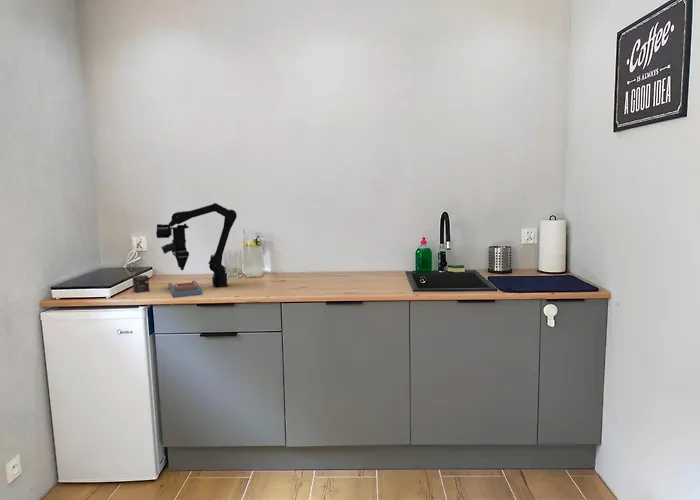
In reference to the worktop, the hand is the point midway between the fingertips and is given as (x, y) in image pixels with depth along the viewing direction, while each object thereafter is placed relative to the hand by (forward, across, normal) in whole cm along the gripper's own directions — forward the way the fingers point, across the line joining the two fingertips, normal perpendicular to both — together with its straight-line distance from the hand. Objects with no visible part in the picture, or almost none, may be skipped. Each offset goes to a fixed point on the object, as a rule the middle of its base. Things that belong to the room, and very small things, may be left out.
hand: (180, 268), depth 256 cm
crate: (+9, +14, 0) cm, 17 cm away
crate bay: (+10, +9, 0) cm, 13 cm away
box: (+10, -2, -19) cm, 21 cm away
